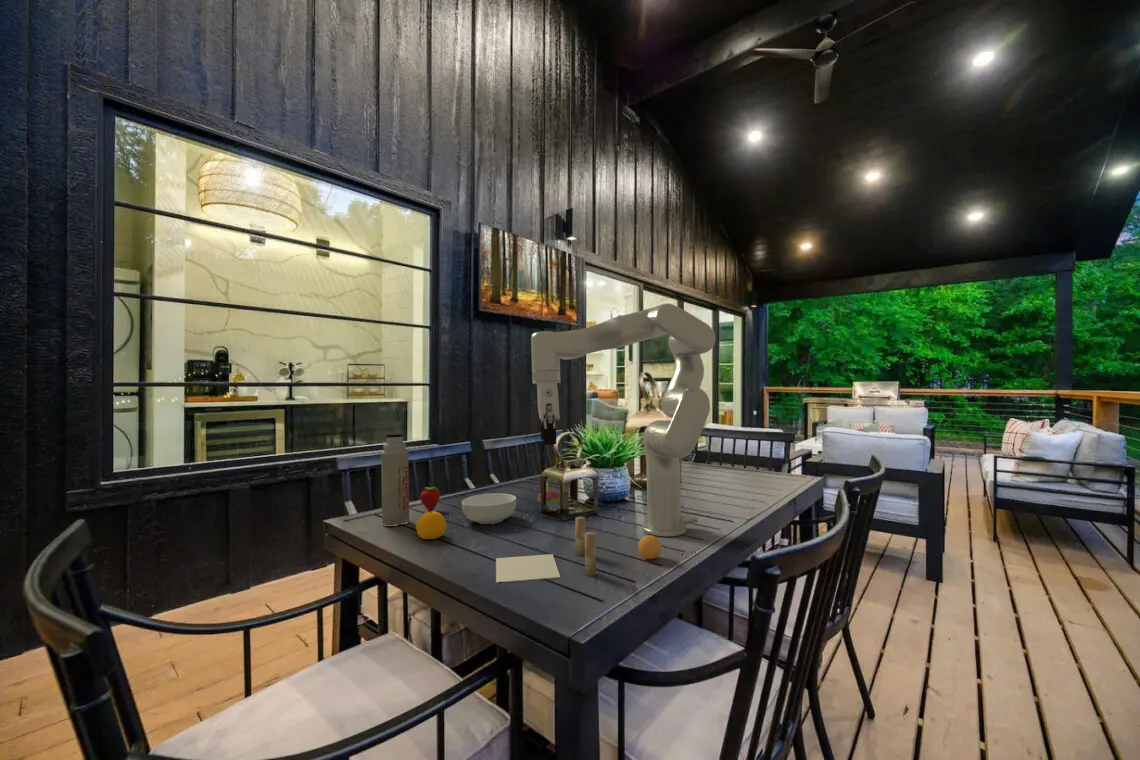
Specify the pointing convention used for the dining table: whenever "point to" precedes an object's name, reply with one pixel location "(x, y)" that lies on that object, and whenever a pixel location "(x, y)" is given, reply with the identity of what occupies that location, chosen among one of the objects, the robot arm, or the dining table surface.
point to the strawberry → (430, 497)
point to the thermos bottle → (395, 481)
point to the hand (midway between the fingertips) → (548, 442)
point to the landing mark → (526, 568)
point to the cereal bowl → (489, 507)
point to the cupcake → (551, 497)
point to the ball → (650, 547)
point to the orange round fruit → (431, 525)
